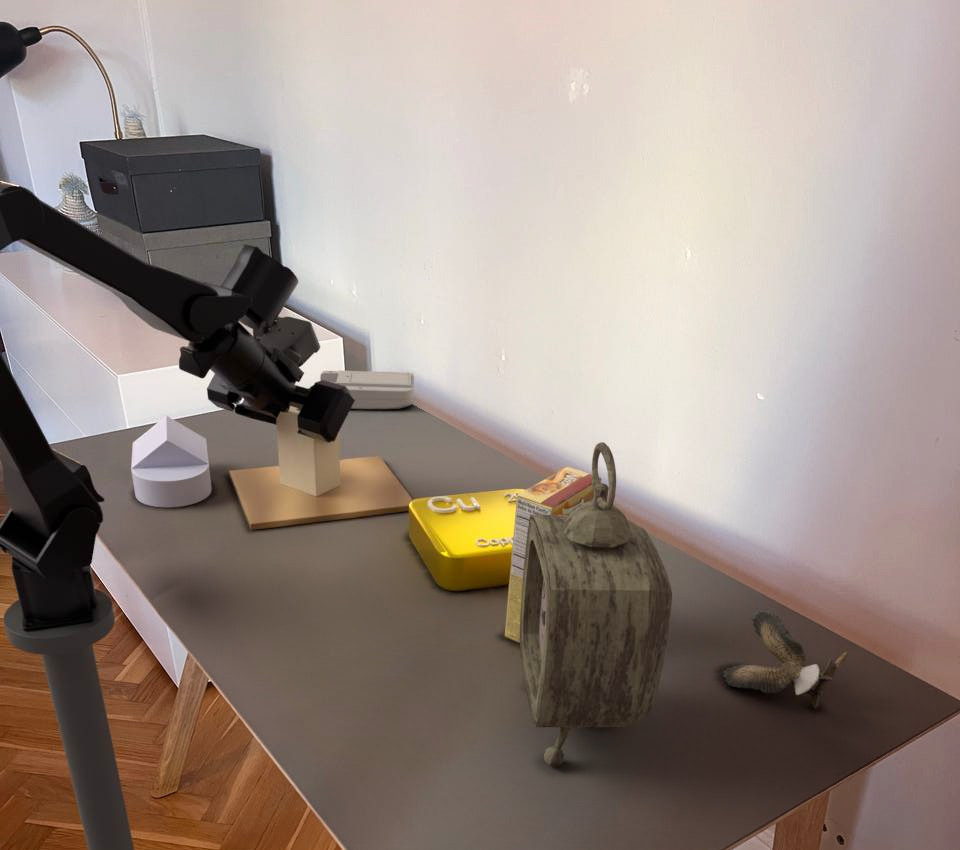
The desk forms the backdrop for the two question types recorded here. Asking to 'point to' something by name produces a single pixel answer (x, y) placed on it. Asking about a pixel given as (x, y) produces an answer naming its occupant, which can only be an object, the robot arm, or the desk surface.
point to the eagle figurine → (791, 659)
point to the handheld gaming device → (375, 388)
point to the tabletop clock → (592, 616)
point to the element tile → (465, 537)
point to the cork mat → (358, 495)
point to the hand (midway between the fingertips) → (315, 431)
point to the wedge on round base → (170, 466)
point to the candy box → (541, 499)
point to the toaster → (306, 458)
